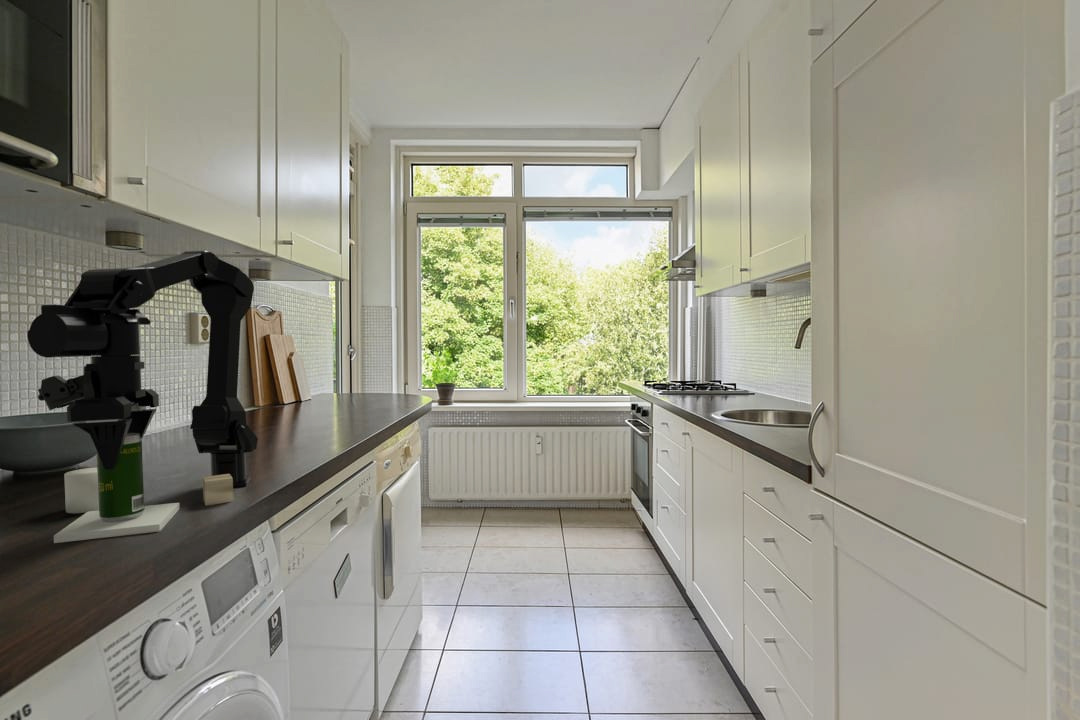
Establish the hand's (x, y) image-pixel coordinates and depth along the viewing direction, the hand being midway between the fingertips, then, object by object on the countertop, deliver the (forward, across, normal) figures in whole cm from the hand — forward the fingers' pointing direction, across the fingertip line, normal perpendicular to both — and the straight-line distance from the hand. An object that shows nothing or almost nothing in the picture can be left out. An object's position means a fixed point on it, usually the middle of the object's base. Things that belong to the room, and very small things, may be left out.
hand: (120, 463), depth 84 cm
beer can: (+8, 0, 0) cm, 8 cm away
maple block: (+9, -9, +11) cm, 17 cm away
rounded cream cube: (+9, -13, -8) cm, 18 cm away
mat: (+9, 0, 0) cm, 9 cm away
